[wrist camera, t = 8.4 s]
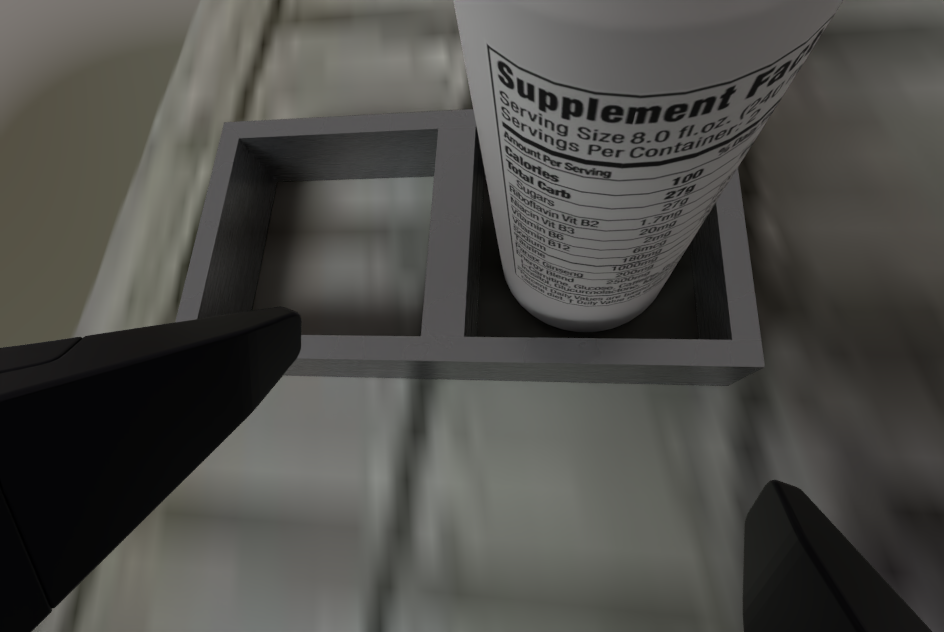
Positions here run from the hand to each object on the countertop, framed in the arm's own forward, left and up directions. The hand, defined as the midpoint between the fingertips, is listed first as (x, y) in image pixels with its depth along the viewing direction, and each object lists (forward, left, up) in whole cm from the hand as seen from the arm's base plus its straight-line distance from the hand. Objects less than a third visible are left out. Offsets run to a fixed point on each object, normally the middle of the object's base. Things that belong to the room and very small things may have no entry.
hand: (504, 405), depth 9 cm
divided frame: (+7, +3, -9) cm, 11 cm away
